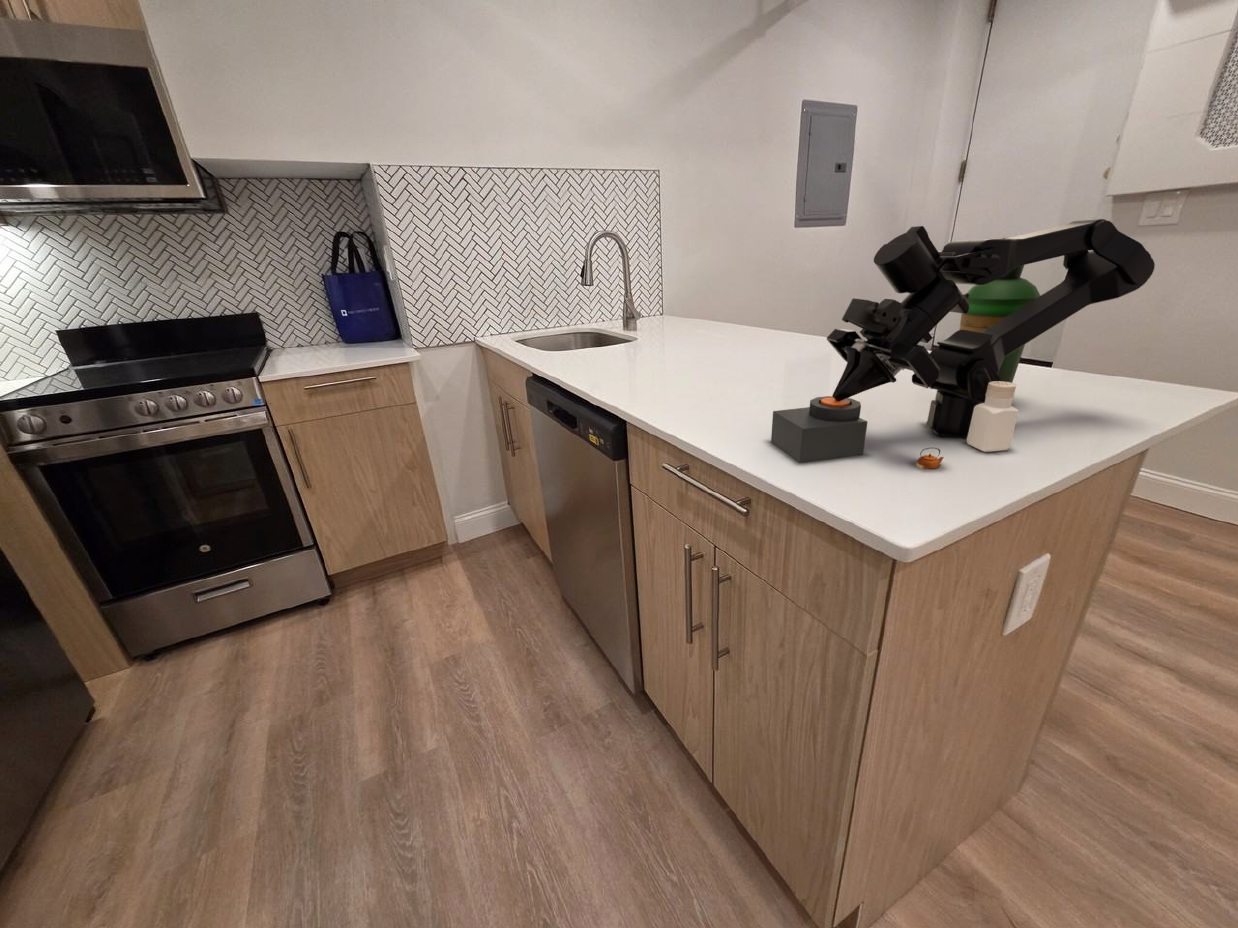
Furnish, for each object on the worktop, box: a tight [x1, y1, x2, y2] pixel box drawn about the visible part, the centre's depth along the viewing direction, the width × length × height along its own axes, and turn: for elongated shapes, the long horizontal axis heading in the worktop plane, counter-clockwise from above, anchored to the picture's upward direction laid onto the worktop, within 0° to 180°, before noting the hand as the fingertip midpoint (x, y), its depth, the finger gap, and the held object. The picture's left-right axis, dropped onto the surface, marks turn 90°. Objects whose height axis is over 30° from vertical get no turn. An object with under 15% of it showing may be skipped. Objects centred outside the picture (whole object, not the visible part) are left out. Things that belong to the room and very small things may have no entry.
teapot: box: [915, 447, 945, 470], centre depth 68 cm, size 3×3×3 cm
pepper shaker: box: [966, 381, 1019, 453], centre depth 72 cm, size 4×4×10 cm
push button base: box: [770, 395, 868, 464], centre depth 75 cm, size 11×9×7 cm
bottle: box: [958, 236, 1041, 383], centre depth 88 cm, size 11×11×28 cm
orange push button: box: [820, 397, 850, 407], centre depth 75 cm, size 4×4×2 cm
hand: (835, 398), depth 74 cm, fingers closed, pressing on orange push button
